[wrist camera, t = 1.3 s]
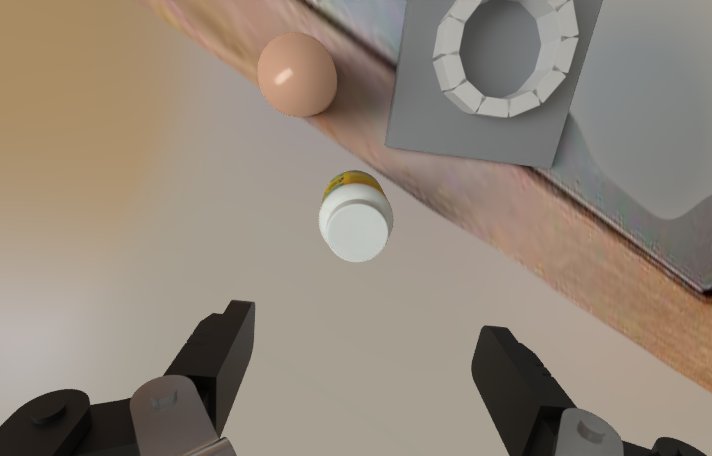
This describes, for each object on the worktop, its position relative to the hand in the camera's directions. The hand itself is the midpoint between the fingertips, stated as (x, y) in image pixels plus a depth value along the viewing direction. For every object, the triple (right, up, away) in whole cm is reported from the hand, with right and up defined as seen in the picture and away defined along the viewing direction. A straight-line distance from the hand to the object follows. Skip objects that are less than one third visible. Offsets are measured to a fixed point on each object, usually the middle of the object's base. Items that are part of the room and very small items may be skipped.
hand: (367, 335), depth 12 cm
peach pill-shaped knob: (-4, +15, +16) cm, 22 cm away
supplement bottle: (-1, +6, +19) cm, 20 cm away
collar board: (+10, +18, +16) cm, 25 cm away
